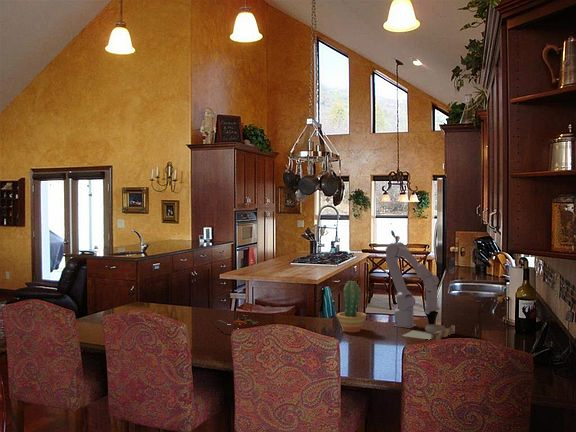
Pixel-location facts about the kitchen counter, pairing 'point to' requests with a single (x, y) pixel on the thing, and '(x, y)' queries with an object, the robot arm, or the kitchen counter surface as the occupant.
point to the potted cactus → (351, 308)
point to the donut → (434, 328)
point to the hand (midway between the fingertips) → (431, 326)
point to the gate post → (453, 329)
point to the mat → (418, 334)
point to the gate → (442, 333)
